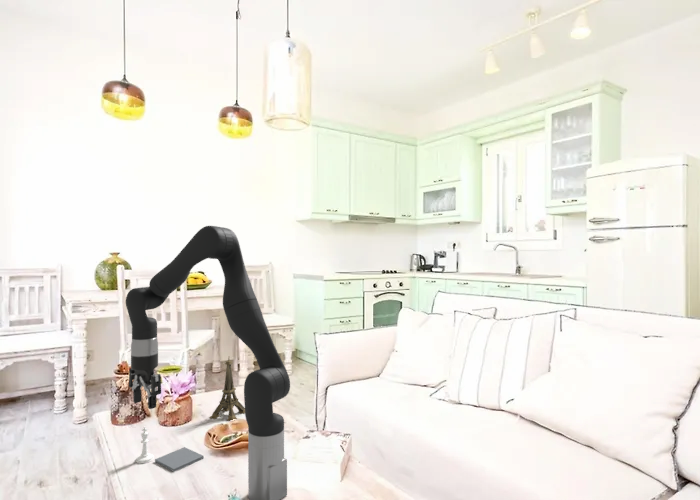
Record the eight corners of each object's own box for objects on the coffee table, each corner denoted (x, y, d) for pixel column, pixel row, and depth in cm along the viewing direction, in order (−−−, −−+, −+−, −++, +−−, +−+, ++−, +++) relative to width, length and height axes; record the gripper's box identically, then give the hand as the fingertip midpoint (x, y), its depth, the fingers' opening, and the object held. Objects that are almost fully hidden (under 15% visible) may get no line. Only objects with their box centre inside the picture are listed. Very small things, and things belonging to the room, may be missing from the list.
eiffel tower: (233, 421, 164) (233, 354, 163) (209, 418, 167) (208, 352, 167) (248, 411, 174) (248, 348, 173) (225, 408, 177) (225, 346, 177)
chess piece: (146, 464, 131) (146, 430, 131) (132, 462, 132) (132, 429, 132) (157, 456, 136) (156, 424, 136) (143, 455, 137) (142, 423, 137)
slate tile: (203, 458, 135) (203, 455, 135) (173, 471, 127) (173, 469, 127) (184, 449, 141) (184, 447, 141) (155, 461, 132) (155, 459, 132)
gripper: (169, 353, 133) (169, 406, 133) (144, 346, 141) (144, 397, 141) (145, 358, 127) (145, 414, 127) (120, 351, 135) (120, 403, 135)
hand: (144, 405), depth 134 cm, fingers open, 8 cm apart
